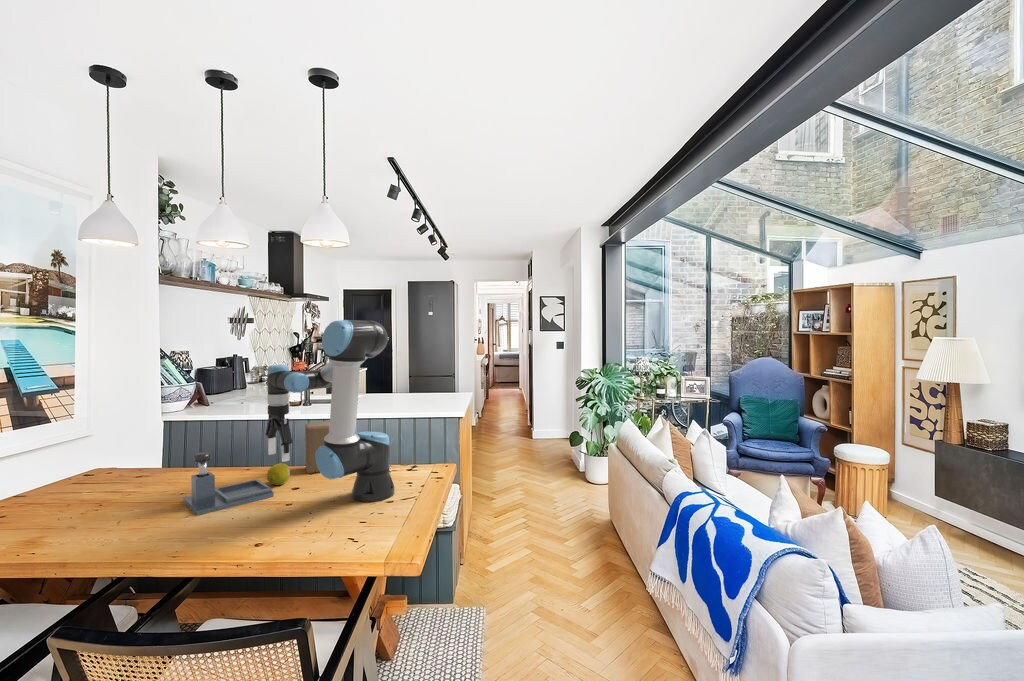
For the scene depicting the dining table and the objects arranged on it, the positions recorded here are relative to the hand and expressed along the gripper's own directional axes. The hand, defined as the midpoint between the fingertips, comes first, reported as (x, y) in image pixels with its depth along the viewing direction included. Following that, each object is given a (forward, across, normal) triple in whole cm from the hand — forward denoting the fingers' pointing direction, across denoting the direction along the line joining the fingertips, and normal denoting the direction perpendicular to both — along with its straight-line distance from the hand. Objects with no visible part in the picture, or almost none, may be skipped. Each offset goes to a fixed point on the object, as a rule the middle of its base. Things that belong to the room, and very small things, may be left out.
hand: (278, 457), depth 187 cm
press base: (+10, -5, +19) cm, 22 cm away
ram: (+3, -4, +27) cm, 27 cm away
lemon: (+11, -1, 0) cm, 11 cm away
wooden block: (+11, +6, -19) cm, 23 cm away
